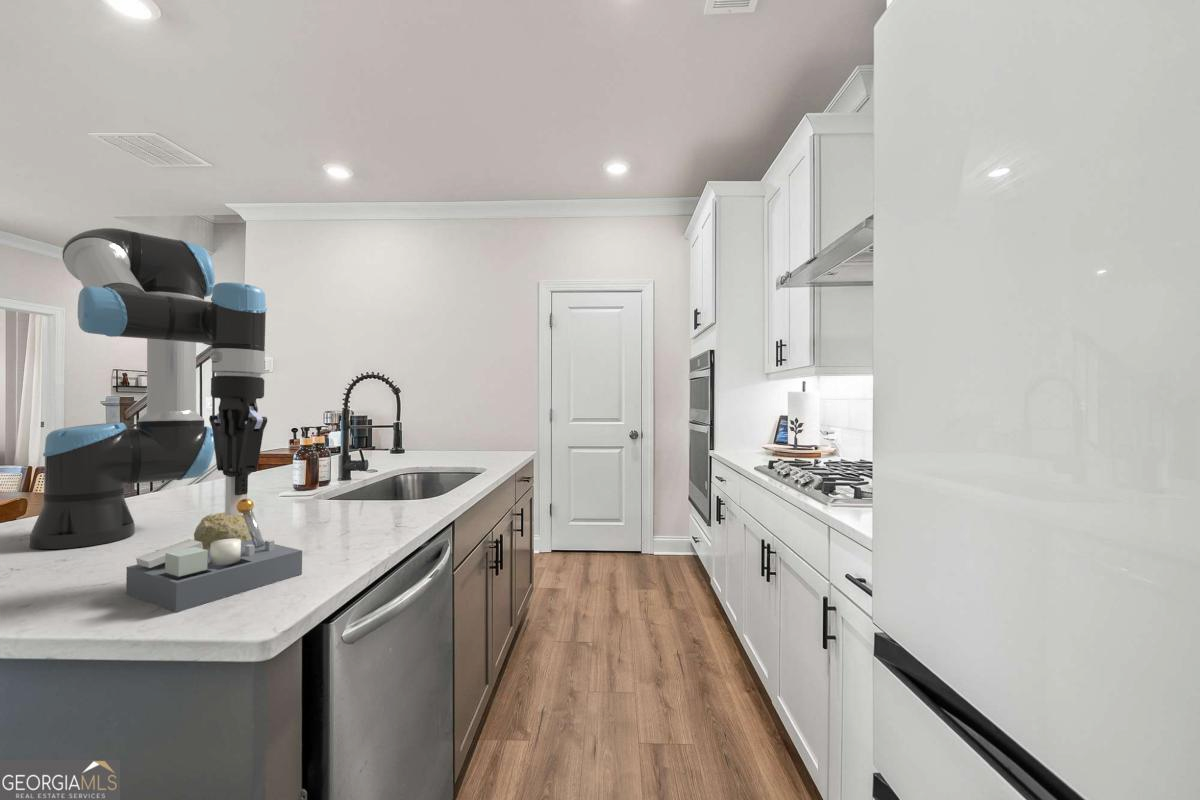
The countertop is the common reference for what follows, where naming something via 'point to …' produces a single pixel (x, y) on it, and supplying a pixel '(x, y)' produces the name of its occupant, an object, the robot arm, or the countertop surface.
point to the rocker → (159, 555)
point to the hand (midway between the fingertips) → (236, 513)
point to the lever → (250, 521)
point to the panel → (214, 577)
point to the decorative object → (221, 529)
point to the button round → (225, 551)
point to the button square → (186, 561)
